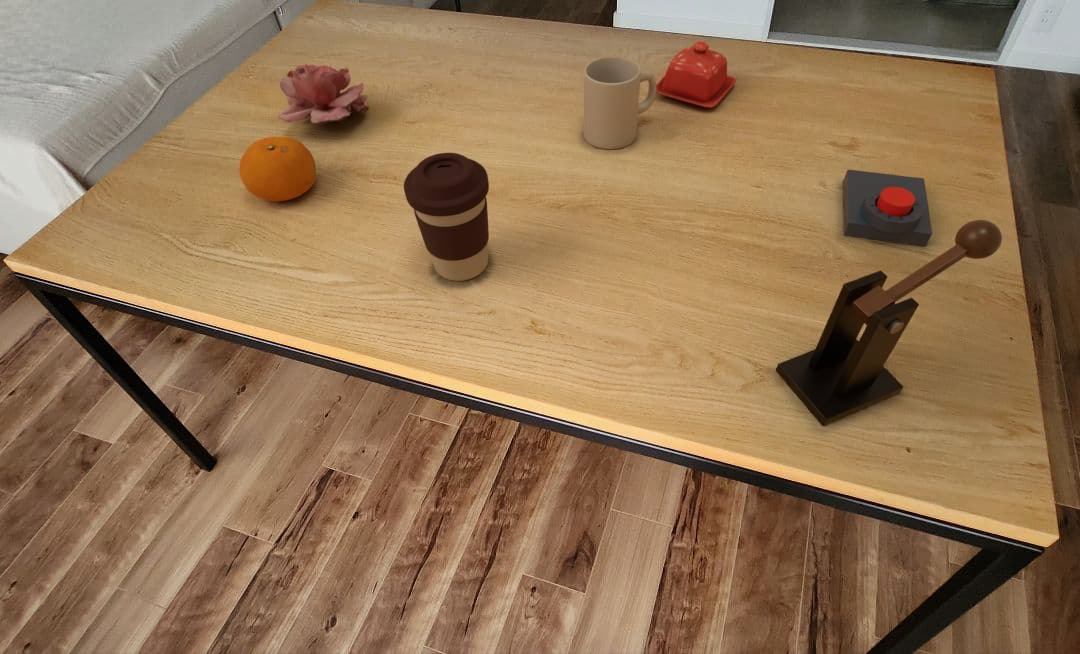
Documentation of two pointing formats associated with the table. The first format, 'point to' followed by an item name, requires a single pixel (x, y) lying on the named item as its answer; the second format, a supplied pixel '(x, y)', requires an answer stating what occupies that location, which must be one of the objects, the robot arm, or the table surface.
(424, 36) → the table surface
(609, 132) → the mug
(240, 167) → the fruit
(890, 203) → the button
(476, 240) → the coffee cup
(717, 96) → the butter dish
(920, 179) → the button block
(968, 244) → the lever
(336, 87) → the flower
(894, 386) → the bracket
